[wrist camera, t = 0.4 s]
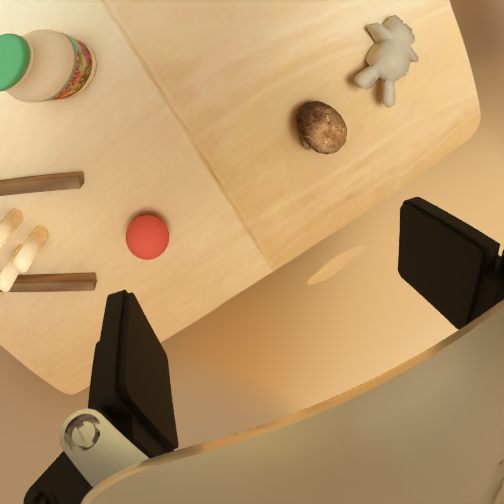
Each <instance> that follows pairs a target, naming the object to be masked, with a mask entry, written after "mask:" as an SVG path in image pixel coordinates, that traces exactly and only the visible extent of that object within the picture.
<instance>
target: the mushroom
mask: <svg viewBox="0 0 504 504" xmlns="http://www.w3.org/2000/svg"><path fill="white" fill-rule="evenodd" d="M296 120H297V126H298V130H299V132H300V134H301V141H302V144H303V146H304V147H305V148H306V149H310V147H311V148H313V149H314V150H315V151H316V152H319V153H323V154H331V153H335V152H337V151H338V150H339V149H340V148H341V147H342V146H343V145H344V144H345V142H346V135H347V129H346V125H345V122H344V120H343V119H342V117H341V116H340V114H339V113H338V112H337V111H336V110H335V109H333V108H332V107H331V106H329V105H327V104H325V103H322V102H319V101H313V102H307V103H305V104H304V105H303V106H302V107H300V108H299V110H298V113H297V117H296Z"/></svg>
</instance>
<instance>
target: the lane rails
mask: <svg viewBox="0 0 504 504" xmlns="http://www.w3.org/2000/svg"><path fill="white" fill-rule="evenodd" d="M83 184H84V176H83V172H73V173H61V174H50V175H40V176H31V177H23V178H15V179H7V180H0V196H4V195H13V194H22V193H32V192H42V191H54V190H66V189H80V188H81V186H82V185H83ZM96 282H97V280H96V275H95V273H73V274H40V275H18V276H17V278H16V280H15V281H14V283H13V285H12V287H11V289H10V290H9V291H8V292H55V291H94V290H95V286H96ZM0 292H3V291H1V290H0Z"/></svg>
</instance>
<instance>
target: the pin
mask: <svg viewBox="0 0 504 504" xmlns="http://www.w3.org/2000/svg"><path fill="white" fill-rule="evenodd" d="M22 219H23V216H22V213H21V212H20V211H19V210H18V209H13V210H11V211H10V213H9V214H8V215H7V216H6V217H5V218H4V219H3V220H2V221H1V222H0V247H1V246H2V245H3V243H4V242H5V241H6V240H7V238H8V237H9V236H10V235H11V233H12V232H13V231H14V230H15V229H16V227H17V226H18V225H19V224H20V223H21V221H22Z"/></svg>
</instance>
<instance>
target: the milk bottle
mask: <svg viewBox="0 0 504 504" xmlns="http://www.w3.org/2000/svg"><path fill="white" fill-rule="evenodd" d="M95 69H96V59H95V56H94V53H93V52H92V50H91V49H90V48H89V47H88V46H87V45H85V44H84V43H82V42H80V41H78V40H76V39H74V38H72V37H70V36H68V35H65V34H63V33H60V32H57V31H54V30H37V31H33V32H30V33H28V34H26V35H24V36H18V35H15V34H3V35H0V91H7V92H8V93H9V94H10V95H11V96H13V97H14V98H16V99H18V100H20V101H24V102H44V101H51V100H57V99H63V98H69V97H72V96H75V95H77V94H79V93H80V92H82V91H83V90H84V89H85V88H86V87H87V86H88V85H89V83H90V82H91V80H92V78H93V76H94V73H95Z"/></svg>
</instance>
